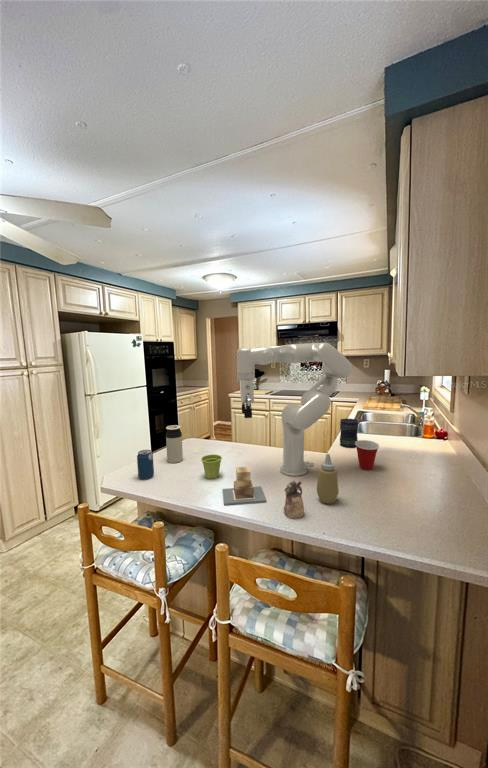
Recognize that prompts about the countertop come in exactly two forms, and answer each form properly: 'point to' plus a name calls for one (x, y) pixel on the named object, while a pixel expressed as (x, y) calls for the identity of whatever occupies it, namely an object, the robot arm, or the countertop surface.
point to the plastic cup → (366, 453)
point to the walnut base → (243, 491)
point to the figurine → (293, 500)
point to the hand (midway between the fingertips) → (246, 415)
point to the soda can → (145, 464)
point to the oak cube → (243, 477)
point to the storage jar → (348, 433)
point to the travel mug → (174, 444)
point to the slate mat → (230, 498)
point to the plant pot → (211, 465)
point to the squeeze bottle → (327, 482)
